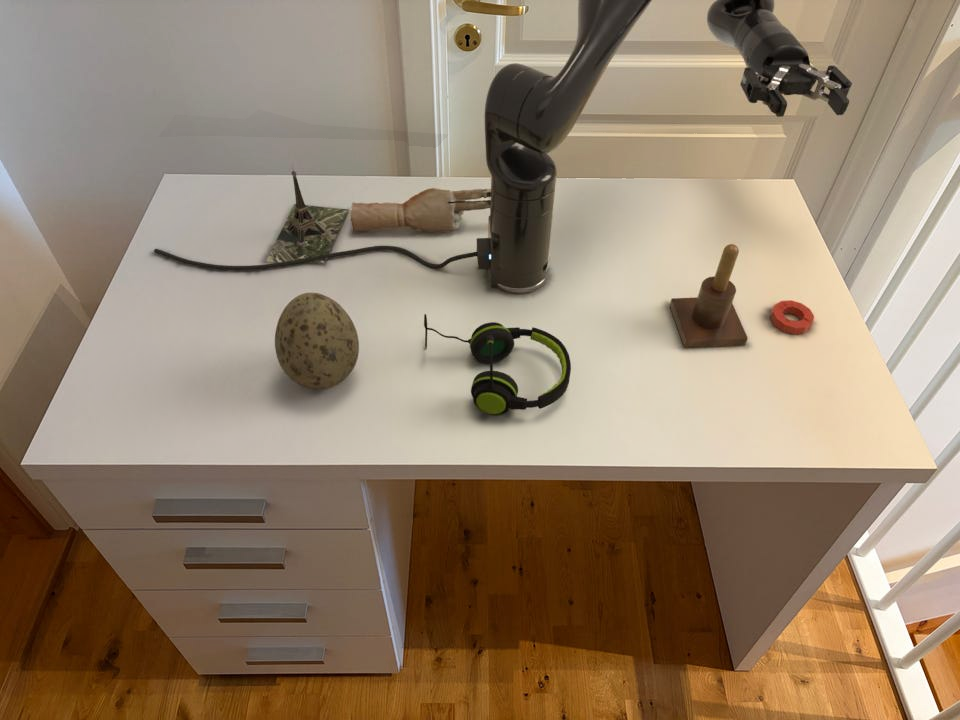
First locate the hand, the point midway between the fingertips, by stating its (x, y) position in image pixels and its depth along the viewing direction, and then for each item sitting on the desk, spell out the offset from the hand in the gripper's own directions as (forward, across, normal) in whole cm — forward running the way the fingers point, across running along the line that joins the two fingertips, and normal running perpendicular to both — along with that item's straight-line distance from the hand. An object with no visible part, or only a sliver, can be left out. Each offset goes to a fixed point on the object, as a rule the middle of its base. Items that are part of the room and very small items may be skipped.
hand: (813, 109), depth 100 cm
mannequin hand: (-11, -54, +26) cm, 61 cm away
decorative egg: (+22, -69, +26) cm, 77 cm away
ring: (+15, 0, +25) cm, 29 cm away
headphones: (+23, -45, +26) cm, 57 cm away
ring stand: (+15, -13, +26) cm, 33 cm away
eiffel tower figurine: (-10, -74, +26) cm, 79 cm away
